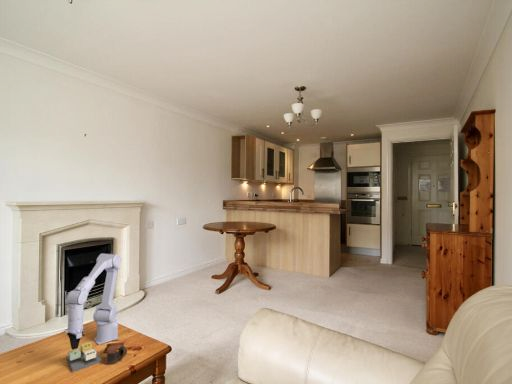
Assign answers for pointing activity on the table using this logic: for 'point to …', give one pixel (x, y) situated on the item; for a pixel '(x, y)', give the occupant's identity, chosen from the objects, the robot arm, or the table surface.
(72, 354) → the tile one sage
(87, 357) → the tile three ivory
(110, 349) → the pottery mug
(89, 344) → the tile two mustard
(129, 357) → the table surface
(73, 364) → the slate board
